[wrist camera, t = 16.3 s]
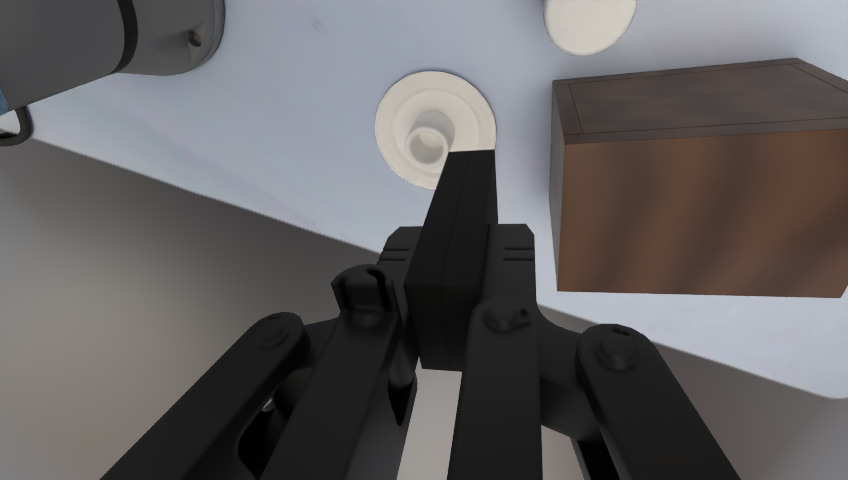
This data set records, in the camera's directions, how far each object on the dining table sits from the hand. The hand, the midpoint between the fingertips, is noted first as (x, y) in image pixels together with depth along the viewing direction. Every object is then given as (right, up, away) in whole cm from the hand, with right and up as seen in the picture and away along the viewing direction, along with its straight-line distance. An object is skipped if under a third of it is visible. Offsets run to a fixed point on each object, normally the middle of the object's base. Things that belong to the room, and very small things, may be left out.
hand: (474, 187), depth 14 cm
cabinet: (+19, +7, +23) cm, 31 cm away
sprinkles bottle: (+10, +18, +18) cm, 27 cm away
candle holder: (-1, +9, +27) cm, 29 cm away
